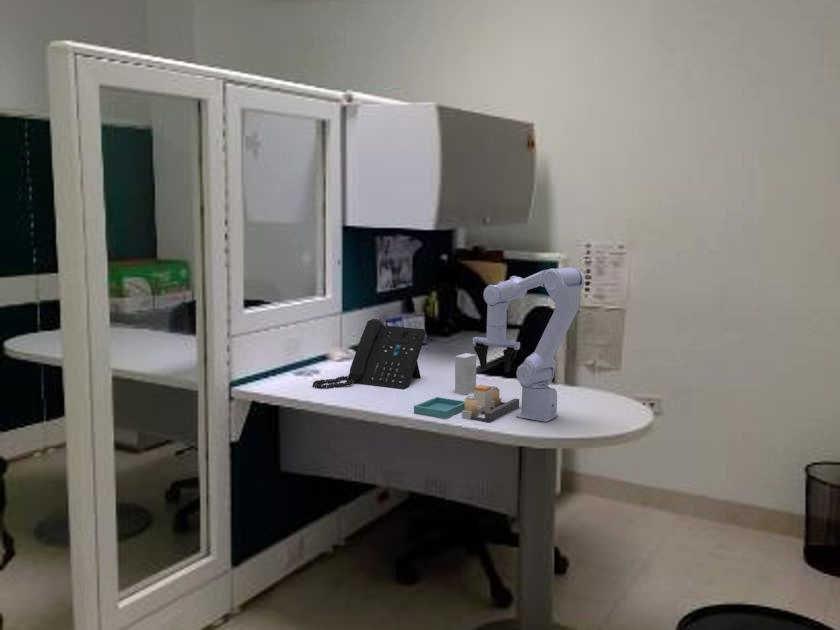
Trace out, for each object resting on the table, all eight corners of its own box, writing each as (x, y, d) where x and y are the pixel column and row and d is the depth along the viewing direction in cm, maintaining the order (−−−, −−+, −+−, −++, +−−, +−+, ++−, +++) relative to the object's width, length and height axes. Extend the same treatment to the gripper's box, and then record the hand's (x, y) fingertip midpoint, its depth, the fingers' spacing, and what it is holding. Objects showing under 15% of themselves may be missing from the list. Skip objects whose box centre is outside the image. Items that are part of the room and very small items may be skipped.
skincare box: (465, 389, 256) (466, 352, 254) (476, 391, 253) (476, 354, 251) (454, 392, 251) (454, 355, 250) (465, 395, 249) (465, 357, 247)
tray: (467, 408, 232) (467, 401, 232) (445, 418, 222) (445, 411, 222) (436, 403, 238) (436, 396, 238) (413, 413, 227) (413, 406, 227)
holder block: (519, 407, 234) (519, 399, 234) (489, 422, 218) (489, 413, 218) (492, 403, 239) (493, 395, 238) (462, 417, 223) (462, 409, 223)
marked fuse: (490, 410, 231) (491, 386, 230) (484, 413, 228) (485, 388, 227) (479, 408, 233) (480, 384, 232) (473, 411, 230) (474, 387, 229)
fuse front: (479, 416, 225) (479, 396, 224) (473, 418, 222) (473, 399, 221) (468, 414, 227) (468, 394, 226) (462, 417, 224) (462, 397, 223)
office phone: (307, 388, 258) (306, 326, 255) (351, 371, 283) (351, 315, 280) (387, 398, 245) (387, 333, 242) (426, 379, 271) (426, 321, 268)
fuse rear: (501, 405, 236) (501, 386, 236) (495, 408, 233) (496, 389, 233) (490, 403, 238) (490, 385, 238) (484, 406, 235) (485, 387, 235)
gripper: (525, 326, 233) (523, 371, 235) (480, 320, 240) (479, 364, 242) (514, 329, 227) (513, 375, 229) (469, 324, 234) (468, 369, 236)
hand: (495, 370), depth 235 cm, fingers open, 7 cm apart
